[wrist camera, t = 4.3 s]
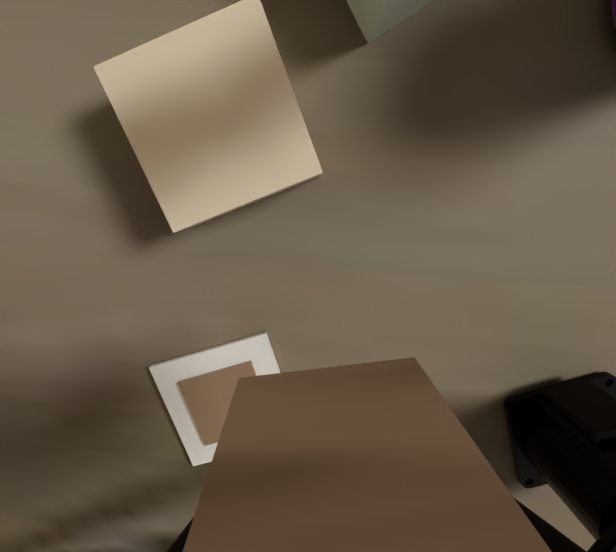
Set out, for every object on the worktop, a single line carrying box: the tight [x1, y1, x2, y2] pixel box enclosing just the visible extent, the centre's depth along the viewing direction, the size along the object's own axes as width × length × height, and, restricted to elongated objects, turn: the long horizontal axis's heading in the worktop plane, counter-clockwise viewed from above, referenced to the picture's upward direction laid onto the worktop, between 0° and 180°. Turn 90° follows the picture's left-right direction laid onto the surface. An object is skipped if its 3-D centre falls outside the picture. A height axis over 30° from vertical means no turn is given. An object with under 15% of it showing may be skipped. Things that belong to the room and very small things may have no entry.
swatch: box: [149, 332, 280, 466], centre depth 20 cm, size 7×7×1 cm
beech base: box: [93, 0, 323, 233], centre depth 16 cm, size 7×7×4 cm
